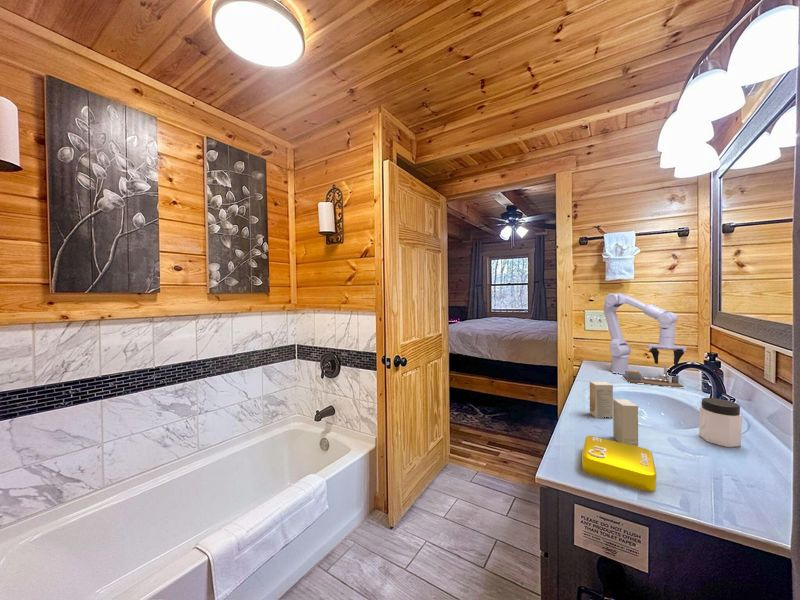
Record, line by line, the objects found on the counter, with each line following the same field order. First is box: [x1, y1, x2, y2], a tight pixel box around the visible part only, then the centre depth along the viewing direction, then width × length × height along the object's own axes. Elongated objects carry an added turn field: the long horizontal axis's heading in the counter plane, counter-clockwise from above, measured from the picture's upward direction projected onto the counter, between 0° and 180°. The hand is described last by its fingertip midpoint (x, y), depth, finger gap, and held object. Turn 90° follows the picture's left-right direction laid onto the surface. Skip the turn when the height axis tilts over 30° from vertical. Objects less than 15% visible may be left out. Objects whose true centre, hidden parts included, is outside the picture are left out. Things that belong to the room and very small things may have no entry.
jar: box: [698, 397, 743, 448], centre depth 95 cm, size 9×8×12 cm
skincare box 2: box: [612, 398, 639, 447], centre depth 94 cm, size 6×4×12 cm
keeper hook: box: [658, 372, 680, 384], centre depth 152 cm, size 4×7×4 cm, turn 68°
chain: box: [642, 367, 672, 383], centre depth 153 cm, size 6×10×6 cm, turn 68°
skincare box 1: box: [589, 381, 614, 419], centre depth 113 cm, size 6×4×12 cm
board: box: [621, 374, 685, 388], centre depth 154 cm, size 12×21×1 cm, turn 68°
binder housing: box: [624, 370, 642, 381], centre depth 157 cm, size 5×5×4 cm
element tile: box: [581, 435, 657, 492], centre depth 81 cm, size 15×15×5 cm
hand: (665, 364), depth 153 cm, fingers open, 7 cm apart
